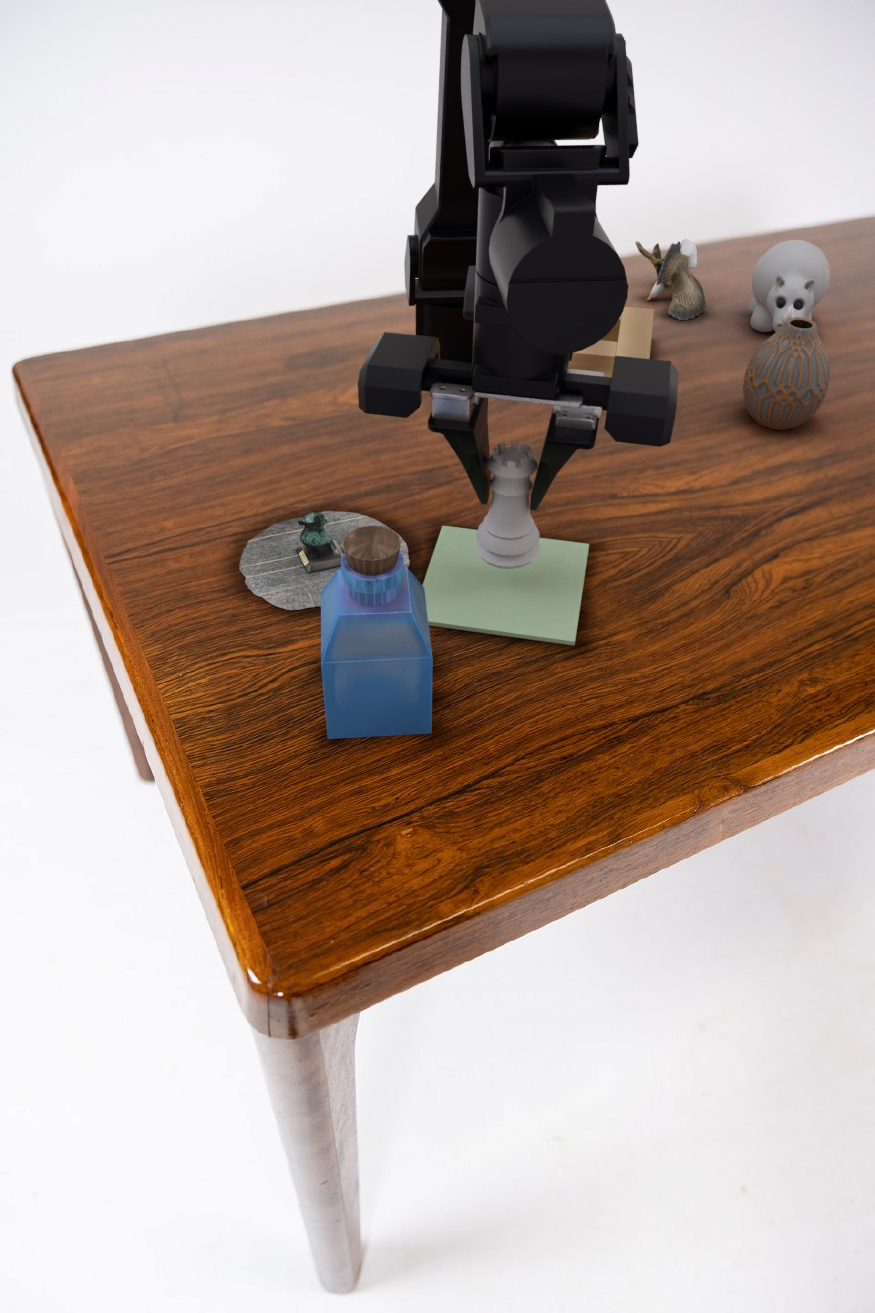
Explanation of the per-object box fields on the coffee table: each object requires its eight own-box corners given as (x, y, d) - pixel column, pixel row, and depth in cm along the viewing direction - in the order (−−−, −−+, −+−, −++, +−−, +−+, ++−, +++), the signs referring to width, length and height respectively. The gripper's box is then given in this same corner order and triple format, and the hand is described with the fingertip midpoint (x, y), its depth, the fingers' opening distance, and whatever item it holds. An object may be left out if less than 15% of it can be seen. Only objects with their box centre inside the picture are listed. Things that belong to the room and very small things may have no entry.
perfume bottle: (327, 667, 65) (314, 511, 57) (423, 663, 65) (424, 507, 57) (327, 738, 60) (313, 580, 52) (431, 733, 61) (433, 575, 53)
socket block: (525, 383, 93) (527, 347, 91) (539, 332, 101) (542, 298, 98) (643, 395, 92) (649, 359, 89) (648, 343, 99) (654, 308, 97)
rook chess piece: (546, 540, 71) (556, 439, 65) (529, 578, 68) (538, 475, 62) (485, 527, 72) (489, 427, 66) (466, 564, 69) (468, 462, 63)
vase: (819, 443, 86) (849, 345, 80) (736, 433, 87) (759, 336, 81) (813, 403, 91) (841, 309, 85) (735, 395, 92) (757, 301, 86)
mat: (411, 623, 68) (411, 618, 68) (442, 529, 76) (442, 525, 76) (574, 646, 67) (575, 641, 66) (588, 548, 75) (589, 543, 74)
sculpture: (206, 573, 72) (245, 467, 72) (284, 592, 80) (320, 497, 79) (332, 633, 67) (375, 519, 66) (402, 646, 75) (442, 545, 74)
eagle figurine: (612, 276, 109) (640, 294, 101) (653, 214, 106) (684, 228, 98) (666, 312, 112) (696, 333, 104) (706, 253, 109) (740, 270, 101)
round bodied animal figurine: (736, 358, 97) (756, 270, 92) (744, 307, 106) (763, 224, 100) (813, 369, 96) (838, 280, 90) (815, 317, 104) (839, 233, 99)
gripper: (698, 231, 61) (656, 456, 71) (395, 205, 63) (399, 427, 74) (696, 309, 53) (650, 550, 63) (350, 277, 55) (361, 513, 66)
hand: (509, 504), depth 67 cm, fingers closed on rook chess piece, 3 cm apart
